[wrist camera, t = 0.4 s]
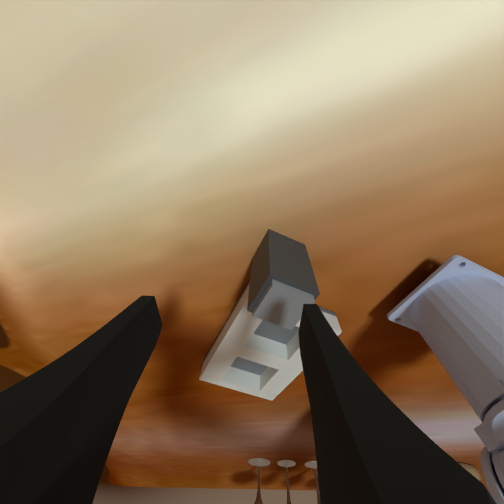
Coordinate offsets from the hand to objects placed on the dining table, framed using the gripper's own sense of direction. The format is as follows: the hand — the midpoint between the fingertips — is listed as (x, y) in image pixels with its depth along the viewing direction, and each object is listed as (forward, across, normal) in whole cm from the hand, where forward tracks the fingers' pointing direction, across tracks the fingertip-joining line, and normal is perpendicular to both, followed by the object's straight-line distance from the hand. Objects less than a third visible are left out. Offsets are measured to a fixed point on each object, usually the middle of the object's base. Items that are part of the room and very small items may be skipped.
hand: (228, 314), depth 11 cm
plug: (+10, -3, +2) cm, 11 cm away
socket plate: (+10, -2, +14) cm, 18 cm away
